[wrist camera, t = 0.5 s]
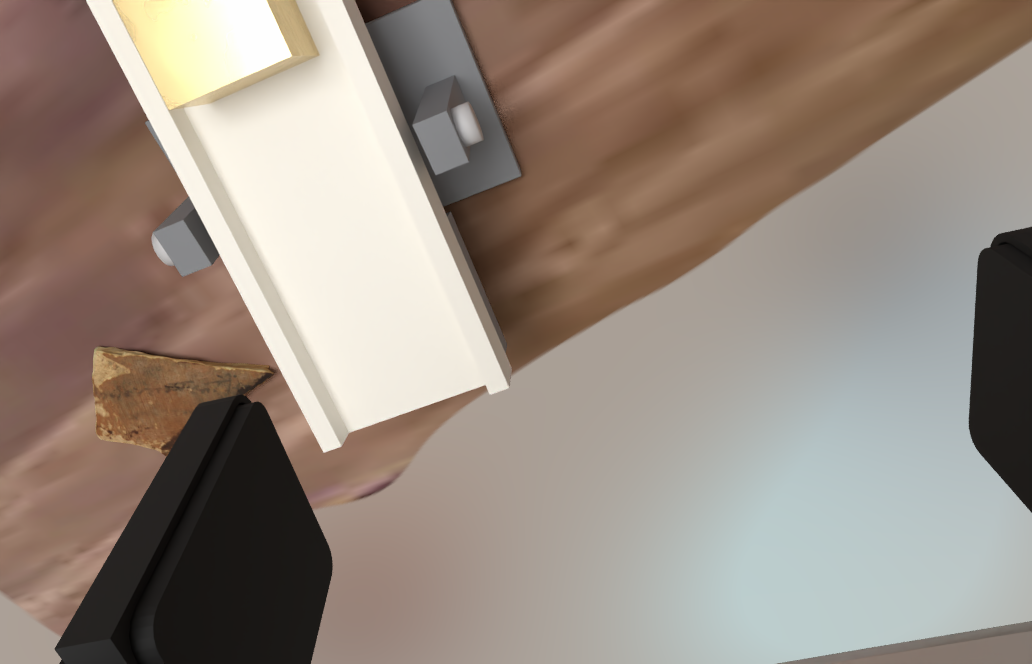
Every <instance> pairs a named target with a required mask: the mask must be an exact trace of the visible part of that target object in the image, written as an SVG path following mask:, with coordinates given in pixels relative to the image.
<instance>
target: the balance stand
mask: <svg viewBox="0 0 1032 664" xmlns="http://www.w3.org/2000/svg"><path fill="white" fill-rule="evenodd" d="M365 25H366V28H367V30H368V32H369V35H370V37H371V39H372V42H373V44H374V46H375V49H376V51H377V53H378V56H379V58H380V61H381V63H382V65H383V68H384V70H385V72H386V75H387V77H388V79H389V82H390V84H391V86H392V89H393V91H394V93H395V96H396V98H397V100H398V103H399V105H400V107H401V110H402V112H403V114H404V117H405V119H406V121H407V124H408V126H409V128H410V131H411V133H412V136H413V138H414V140H415V143H416V145H417V147H418V150H419V152H420V154H421V157H422V159H423V161H424V164H425V166H426V168H427V171H428V173H429V175H430V178H431V180H432V182H433V185H434V187H435V189H436V192H437V194H438V196H439V199H440V201H441V204H442V206H443V207H444V206H446V205H449V204H451V203H454V202H456V201H459V200H462V199H464V198H467V197H469V196H472V195H474V194H477V193H479V192H482V191H484V190H487V189H490V188H492V187H495V186H497V185H500V184H502V183H505V182H507V181H510V180H512V179H515V178H518V177H520V176H521V169H520V167H519V164H518V162H517V159H516V157H515V154H514V152H513V150H512V147H511V145H510V142H509V140H508V137H507V135H506V132H505V130H504V128H503V125H502V123H501V120H500V118H499V115H498V113H497V110H496V108H495V105H494V103H493V101H492V98H491V96H490V93H489V91H488V88H487V86H486V83H485V81H484V79H483V76H482V74H481V71H480V69H479V66H478V64H477V61H476V59H475V56H474V54H473V52H472V49H471V47H470V44H469V42H468V39H467V37H466V34H465V32H464V30H463V27H462V25H461V22H460V20H459V17H458V15H457V12H456V10H455V7H454V5H453V3H452V0H418V1H415V2H413V3H411V4H408V5H406V6H404V7H402V8H399V9H397V10H395V11H393V12H390V13H388V14H386V15H384V16H381V17H379V18H377V19H375V20H372V21H370V22H368V23H365ZM145 124H146V125H147V127H148V128H149V130H150V132H151V133H152V135H153V136H154V138H155V140H156V141H157V143H158V144H159V146H160V147H161V149H162V151H163V152H164V154H165V155H166V157H167V159H168V160H169V162H170V163H171V161H170V159H169V157H168V155H167V153H166V152H165V150H164V148H163V146H162V144H161V142H160V140H159V138H158V136H157V134H156V132H155V131H154V129H153V127H152V125H151V123H150V121H149V120H148V121H146V122H145ZM171 165H172V163H171ZM172 167H173V165H172ZM173 168H174V167H173ZM174 170H175V169H174ZM176 173H177V172H176ZM152 244H153V248H154V250H155V252H156V254H157V255H158V257H159V258H160V259H161V261H162V262H164V263H165V264H167V265H169V266H174V265H175V267H176V268H177V270H178V271H179V273H180V274H181V276H182V277H183V276H186V275H188V274H191V273H193V272H196V271H198V270H201V269H203V268H206V267H208V266H211V265H212V264H213V263H214V262H215V260H216V259H217V258H218V256H219V255H220V254H219V252H218V250H217V249H216V247H215V245H214V243H213V241H212V239H211V237H210V235H209V233H208V231H207V230H206V228H205V226H204V224H203V222H202V220H201V218H200V216H199V214H198V212H197V210H196V209H195V207H194V205H193V203H192V201H191V199H190V197H188V198H187V199H186V200H185V201H184V202H183V203H182V204H181V205H180V206H179V207H178V208H177V209H176V210H175V211H174V212H173V213H172V214H171V215H170V216H169V217H168V218H167V219H166V220H165V221H164V222H163V223H162V224H161V225H160V226H159V227H158V228H157V229H156V230H155V231H154V232H153V234H152Z"/></svg>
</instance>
